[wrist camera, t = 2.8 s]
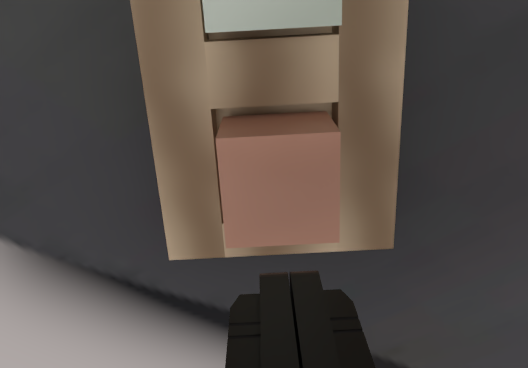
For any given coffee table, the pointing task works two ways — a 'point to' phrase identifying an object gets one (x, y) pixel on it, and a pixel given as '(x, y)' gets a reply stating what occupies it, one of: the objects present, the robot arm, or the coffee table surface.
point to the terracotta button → (279, 179)
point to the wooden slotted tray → (272, 112)
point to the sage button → (269, 14)
